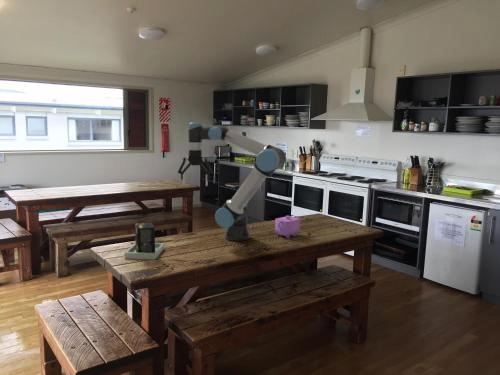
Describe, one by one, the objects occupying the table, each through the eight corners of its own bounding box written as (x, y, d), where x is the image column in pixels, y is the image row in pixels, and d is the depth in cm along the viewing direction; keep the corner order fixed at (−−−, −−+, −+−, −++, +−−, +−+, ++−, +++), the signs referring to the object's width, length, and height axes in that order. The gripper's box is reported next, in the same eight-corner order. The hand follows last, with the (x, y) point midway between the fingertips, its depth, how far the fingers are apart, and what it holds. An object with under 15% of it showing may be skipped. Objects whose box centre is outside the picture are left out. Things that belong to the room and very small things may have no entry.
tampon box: (135, 249, 232) (134, 223, 230) (152, 247, 235) (151, 221, 233) (137, 255, 222) (136, 228, 219) (155, 253, 225) (154, 226, 223)
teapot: (283, 239, 259) (284, 219, 257) (272, 235, 267) (272, 216, 265) (305, 234, 272) (306, 215, 270) (294, 230, 280) (294, 212, 277)
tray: (164, 248, 237) (163, 243, 237) (155, 259, 219) (155, 253, 219) (135, 247, 238) (135, 242, 237) (124, 258, 220) (124, 252, 220)
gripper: (217, 149, 251) (217, 184, 255) (175, 148, 253) (175, 183, 256) (215, 150, 244) (215, 186, 248) (172, 149, 245) (173, 185, 249)
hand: (195, 185), depth 252 cm, fingers open, 13 cm apart
